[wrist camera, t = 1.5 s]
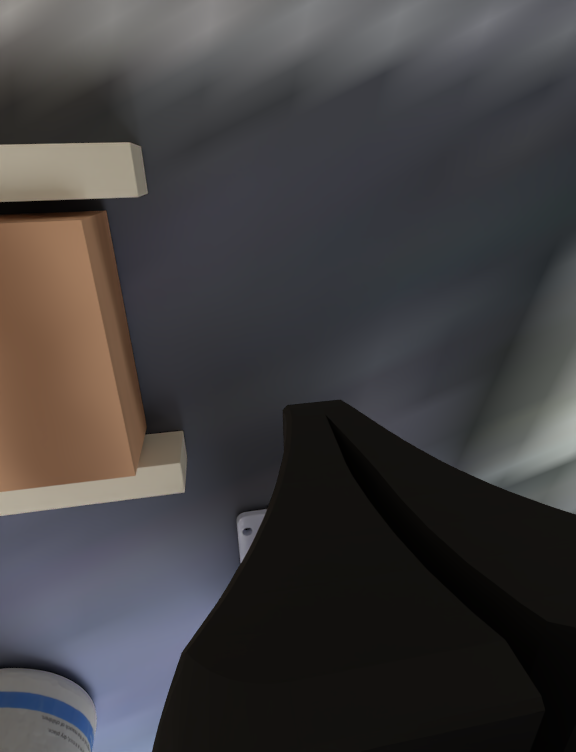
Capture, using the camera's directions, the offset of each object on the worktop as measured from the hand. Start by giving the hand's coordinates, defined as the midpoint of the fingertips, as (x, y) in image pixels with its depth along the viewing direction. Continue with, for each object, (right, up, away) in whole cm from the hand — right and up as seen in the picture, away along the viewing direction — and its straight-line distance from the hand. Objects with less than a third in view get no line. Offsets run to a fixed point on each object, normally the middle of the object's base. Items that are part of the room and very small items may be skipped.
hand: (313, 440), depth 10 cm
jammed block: (-9, +3, +7) cm, 12 cm away
